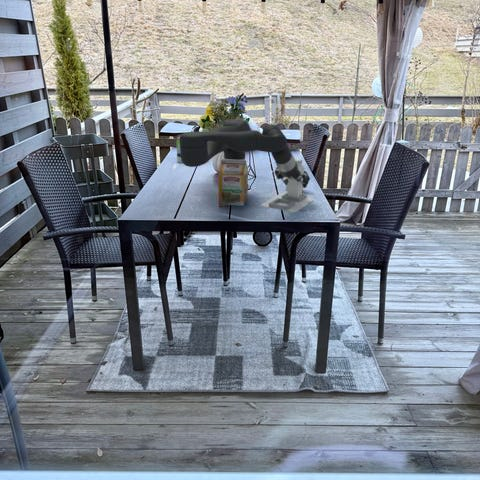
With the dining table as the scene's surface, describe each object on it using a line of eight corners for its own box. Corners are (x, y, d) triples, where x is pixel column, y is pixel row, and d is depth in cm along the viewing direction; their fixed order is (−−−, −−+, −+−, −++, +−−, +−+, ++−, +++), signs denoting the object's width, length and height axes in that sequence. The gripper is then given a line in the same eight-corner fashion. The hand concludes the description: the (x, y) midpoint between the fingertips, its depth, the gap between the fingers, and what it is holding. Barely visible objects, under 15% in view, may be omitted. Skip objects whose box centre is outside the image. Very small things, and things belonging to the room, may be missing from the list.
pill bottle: (289, 193, 192) (291, 161, 186) (283, 189, 199) (285, 157, 193) (305, 192, 194) (308, 160, 188) (298, 187, 201) (301, 156, 195)
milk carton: (218, 207, 174) (218, 162, 167) (223, 199, 184) (223, 156, 176) (243, 208, 173) (244, 163, 165) (247, 200, 182) (248, 157, 175)
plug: (297, 200, 179) (298, 177, 175) (286, 198, 181) (288, 175, 177) (301, 197, 183) (303, 174, 179) (291, 195, 185) (292, 173, 181)
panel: (295, 215, 166) (295, 208, 165) (259, 207, 174) (259, 201, 173) (315, 201, 182) (315, 195, 181) (282, 195, 190) (282, 189, 189)
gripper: (267, 169, 169) (278, 189, 183) (299, 173, 162) (308, 194, 176) (273, 153, 171) (284, 175, 185) (305, 157, 164) (314, 179, 178)
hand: (296, 184), depth 180 cm, fingers open, 8 cm apart
